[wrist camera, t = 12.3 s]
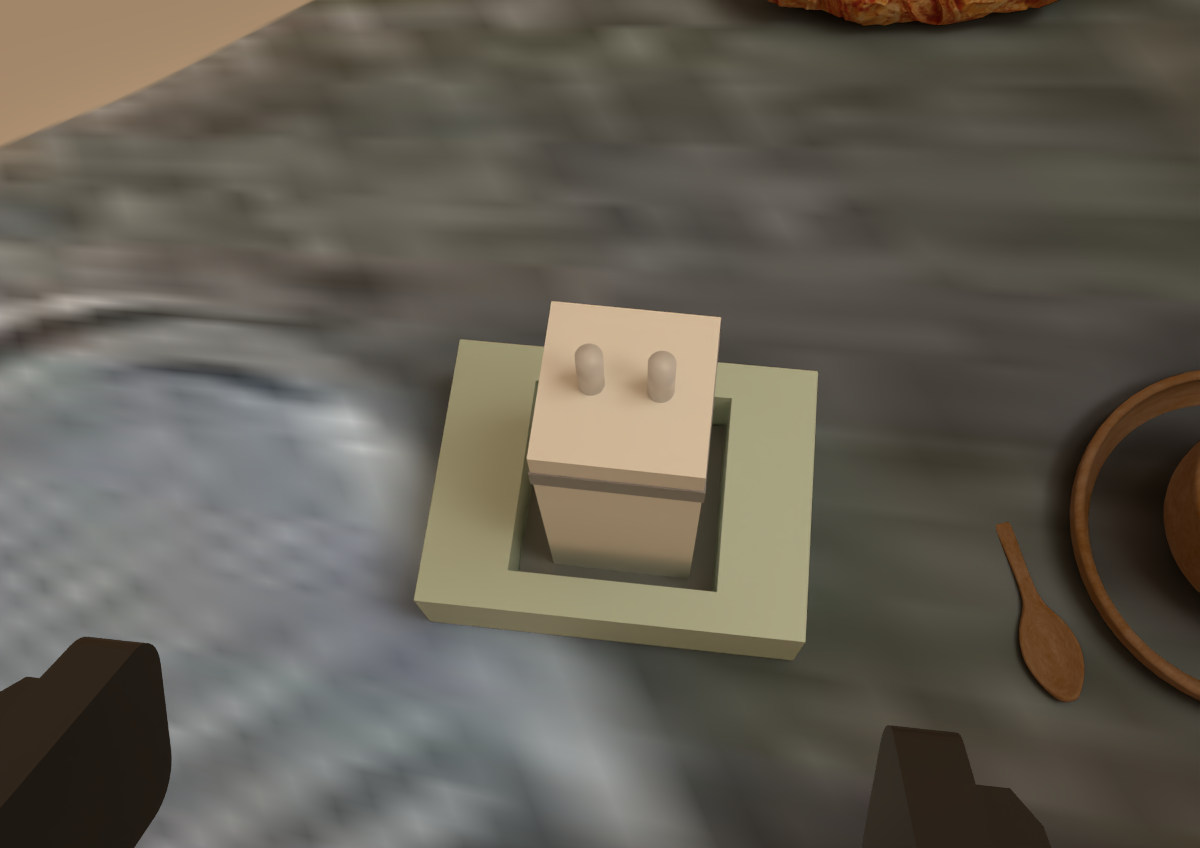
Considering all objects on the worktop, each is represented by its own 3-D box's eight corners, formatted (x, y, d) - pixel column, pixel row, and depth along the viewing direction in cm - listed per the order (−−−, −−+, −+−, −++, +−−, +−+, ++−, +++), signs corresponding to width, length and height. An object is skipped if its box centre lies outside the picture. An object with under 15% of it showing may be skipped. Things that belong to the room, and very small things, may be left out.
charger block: (702, 450, 39) (727, 286, 28) (690, 580, 37) (711, 458, 27) (570, 436, 39) (545, 268, 29) (552, 564, 38) (518, 437, 27)
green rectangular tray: (805, 406, 40) (818, 371, 37) (792, 660, 37) (805, 642, 34) (472, 376, 41) (459, 339, 38) (430, 621, 38) (413, 600, 35)
